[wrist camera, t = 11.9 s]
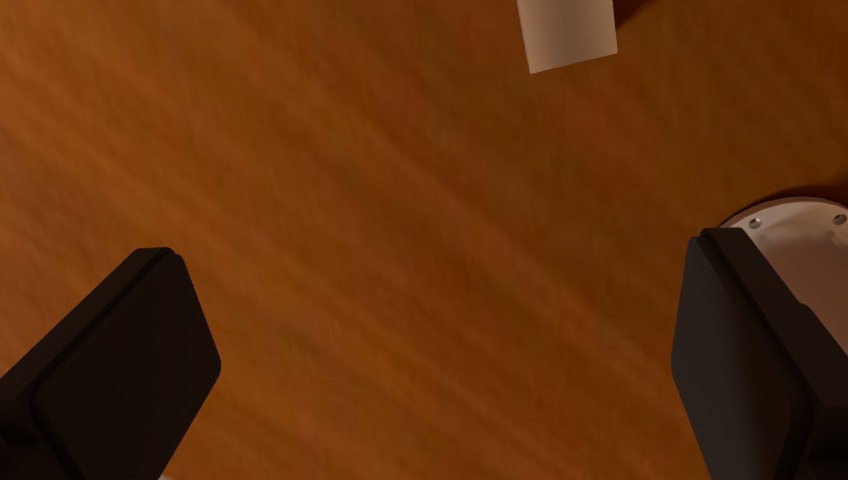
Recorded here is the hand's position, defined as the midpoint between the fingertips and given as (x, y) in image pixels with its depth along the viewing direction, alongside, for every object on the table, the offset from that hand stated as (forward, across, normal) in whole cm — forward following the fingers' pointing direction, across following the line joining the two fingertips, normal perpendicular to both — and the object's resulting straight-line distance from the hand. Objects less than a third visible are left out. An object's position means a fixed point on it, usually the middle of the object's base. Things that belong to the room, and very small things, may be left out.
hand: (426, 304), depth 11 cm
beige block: (+30, -5, 0) cm, 31 cm away
